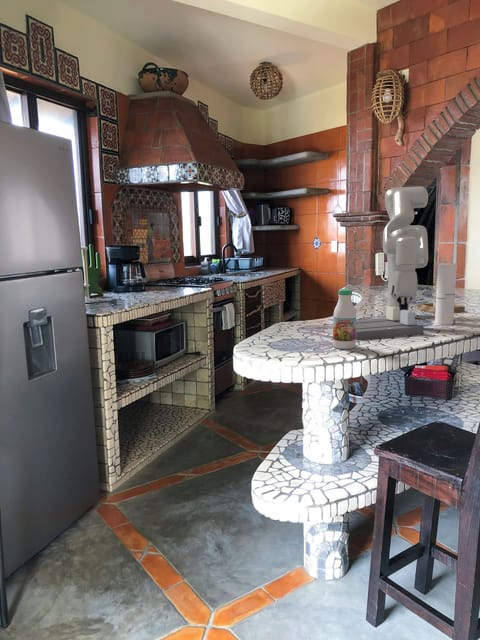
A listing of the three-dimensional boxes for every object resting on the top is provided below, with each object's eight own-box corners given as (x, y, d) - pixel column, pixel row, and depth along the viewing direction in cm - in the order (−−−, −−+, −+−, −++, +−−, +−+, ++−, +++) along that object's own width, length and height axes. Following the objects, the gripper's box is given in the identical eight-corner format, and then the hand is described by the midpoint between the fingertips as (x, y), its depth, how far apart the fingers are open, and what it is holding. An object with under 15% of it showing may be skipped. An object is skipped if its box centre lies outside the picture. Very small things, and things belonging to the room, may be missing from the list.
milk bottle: (330, 344, 165) (330, 288, 161) (351, 343, 165) (352, 287, 162) (336, 350, 157) (337, 291, 153) (358, 349, 158) (360, 290, 154)
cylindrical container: (455, 325, 193) (459, 264, 188) (436, 324, 195) (440, 264, 190) (450, 321, 200) (454, 263, 195) (433, 321, 201) (436, 263, 197)
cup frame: (417, 308, 233) (417, 304, 232) (443, 307, 237) (443, 302, 236) (437, 313, 219) (437, 308, 218) (464, 311, 222) (464, 306, 222)
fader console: (333, 329, 189) (333, 322, 189) (394, 324, 196) (394, 317, 195) (356, 339, 171) (356, 331, 171) (422, 334, 178) (423, 326, 177)
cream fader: (385, 318, 192) (386, 305, 191) (392, 317, 193) (392, 305, 192) (392, 320, 187) (393, 307, 186) (399, 320, 188) (399, 307, 187)
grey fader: (399, 322, 183) (400, 309, 182) (406, 322, 183) (407, 309, 182) (407, 325, 178) (408, 311, 177) (414, 324, 179) (415, 311, 178)
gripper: (415, 267, 193) (413, 310, 196) (383, 268, 189) (381, 313, 192) (427, 268, 186) (424, 313, 189) (394, 269, 182) (392, 316, 185)
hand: (403, 313), depth 191 cm, fingers closed
